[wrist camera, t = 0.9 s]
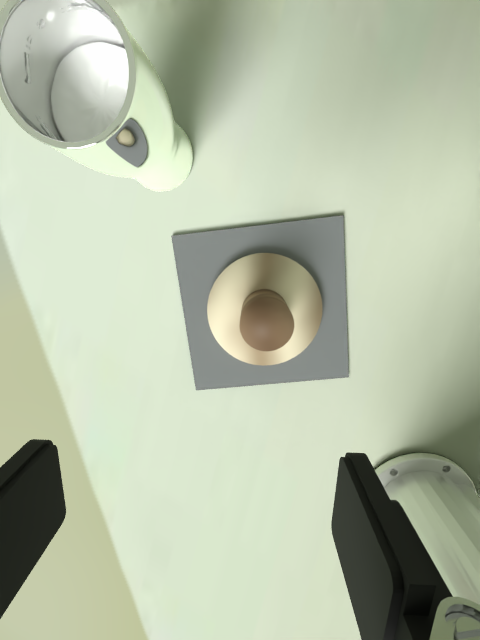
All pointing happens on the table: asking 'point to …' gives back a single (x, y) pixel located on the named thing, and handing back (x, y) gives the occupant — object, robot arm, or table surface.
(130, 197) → the table surface
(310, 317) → the lid
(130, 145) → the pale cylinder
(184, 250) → the mat
